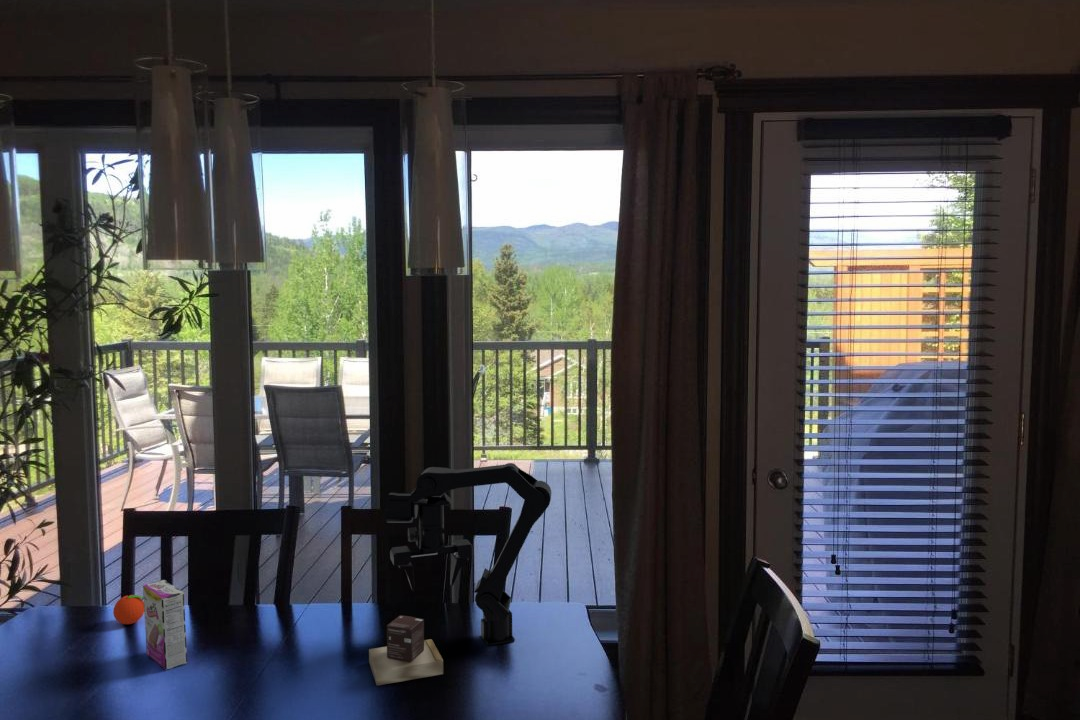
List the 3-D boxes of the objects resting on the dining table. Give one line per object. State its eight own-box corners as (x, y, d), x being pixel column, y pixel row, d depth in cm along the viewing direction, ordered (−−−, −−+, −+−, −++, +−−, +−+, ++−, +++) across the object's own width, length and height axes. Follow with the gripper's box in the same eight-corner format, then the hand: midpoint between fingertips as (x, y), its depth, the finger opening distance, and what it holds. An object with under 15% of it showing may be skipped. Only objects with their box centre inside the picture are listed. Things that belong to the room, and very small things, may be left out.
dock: (432, 652, 175) (431, 638, 175) (443, 674, 165) (443, 659, 165) (369, 662, 171) (368, 648, 170) (376, 685, 160) (376, 670, 160)
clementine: (152, 615, 197) (151, 588, 196) (146, 626, 190) (145, 598, 190) (117, 619, 195) (116, 591, 194) (110, 630, 188) (109, 602, 188)
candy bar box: (144, 655, 174) (141, 584, 173) (167, 648, 178) (164, 578, 177) (164, 672, 167) (161, 597, 166) (188, 663, 171) (185, 591, 169)
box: (386, 658, 166) (385, 625, 165) (400, 646, 172) (399, 614, 171) (411, 663, 164) (410, 629, 163) (425, 650, 170) (424, 618, 169)
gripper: (461, 510, 192) (462, 571, 193) (385, 517, 185) (386, 581, 187) (473, 522, 181) (474, 587, 183) (393, 530, 175) (394, 598, 176)
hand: (432, 587), depth 182 cm, fingers open, 9 cm apart
